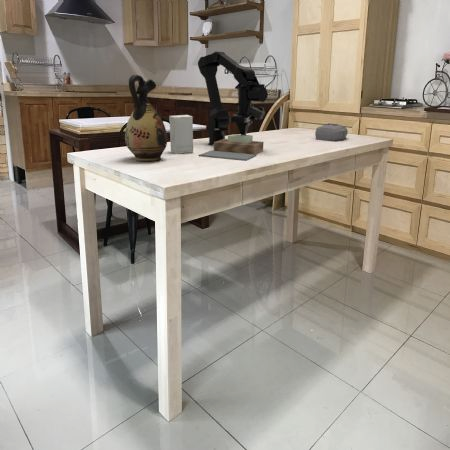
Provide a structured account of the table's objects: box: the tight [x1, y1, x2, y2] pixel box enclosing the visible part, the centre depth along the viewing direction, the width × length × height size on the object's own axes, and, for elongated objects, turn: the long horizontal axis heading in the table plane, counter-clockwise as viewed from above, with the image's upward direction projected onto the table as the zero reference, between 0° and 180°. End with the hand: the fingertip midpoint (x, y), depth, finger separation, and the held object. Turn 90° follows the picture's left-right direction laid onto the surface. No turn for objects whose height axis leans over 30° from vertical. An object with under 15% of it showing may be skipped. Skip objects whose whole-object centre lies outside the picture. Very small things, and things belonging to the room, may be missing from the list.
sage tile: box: [227, 133, 254, 143], centre depth 179 cm, size 9×6×2 cm, turn 68°
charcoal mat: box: [198, 150, 257, 162], centre depth 169 cm, size 20×12×1 cm, turn 68°
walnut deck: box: [213, 138, 264, 156], centre depth 179 cm, size 18×12×4 cm, turn 68°
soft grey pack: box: [314, 122, 348, 142], centre depth 224 cm, size 15×8×20 cm
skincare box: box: [169, 114, 194, 154], centre depth 172 cm, size 8×6×15 cm
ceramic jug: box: [124, 74, 168, 162], centre depth 152 cm, size 17×15×30 cm
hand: (243, 137), depth 183 cm, fingers closed
